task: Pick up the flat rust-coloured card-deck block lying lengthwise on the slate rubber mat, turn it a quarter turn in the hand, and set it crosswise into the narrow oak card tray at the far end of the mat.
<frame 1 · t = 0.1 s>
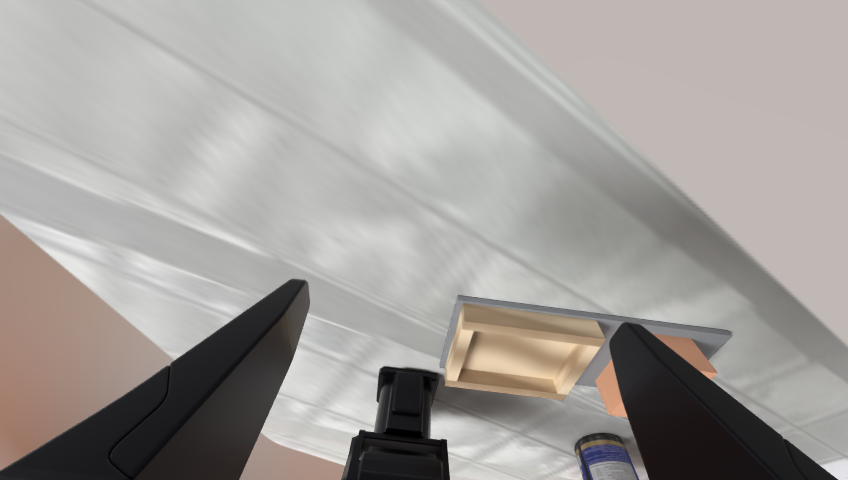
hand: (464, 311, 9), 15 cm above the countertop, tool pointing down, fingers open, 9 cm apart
card deck block: (639, 361, 32), point 1 cm above the countertop, touching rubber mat
pill bottle: (596, 441, 43), on the countertop
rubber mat: (573, 347, 32), on the countertop
card tray: (514, 345, 32), resting on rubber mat
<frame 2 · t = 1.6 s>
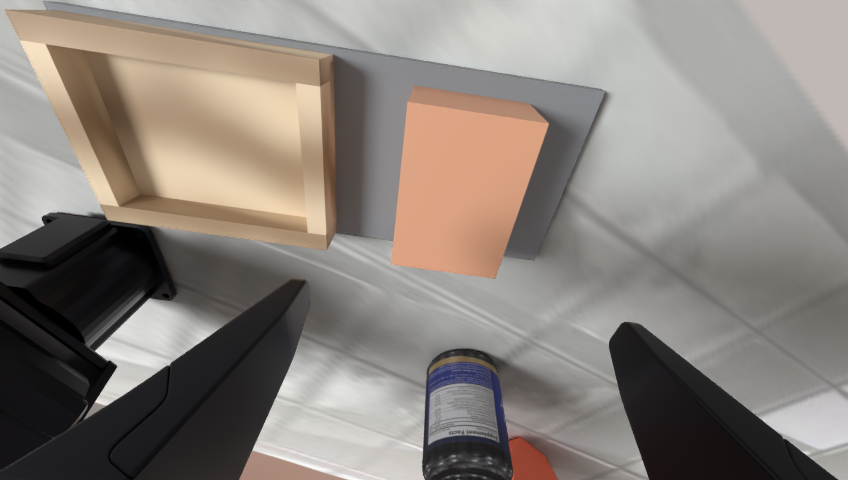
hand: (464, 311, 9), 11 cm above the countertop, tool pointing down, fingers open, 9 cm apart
card deck block: (455, 173, 18), point 1 cm above the countertop, touching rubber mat
pill bottle: (461, 366, 29), on the countertop
french fries container: (515, 449, 37), on the countertop
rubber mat: (338, 151, 18), on the countertop
card tray: (221, 138, 17), resting on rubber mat
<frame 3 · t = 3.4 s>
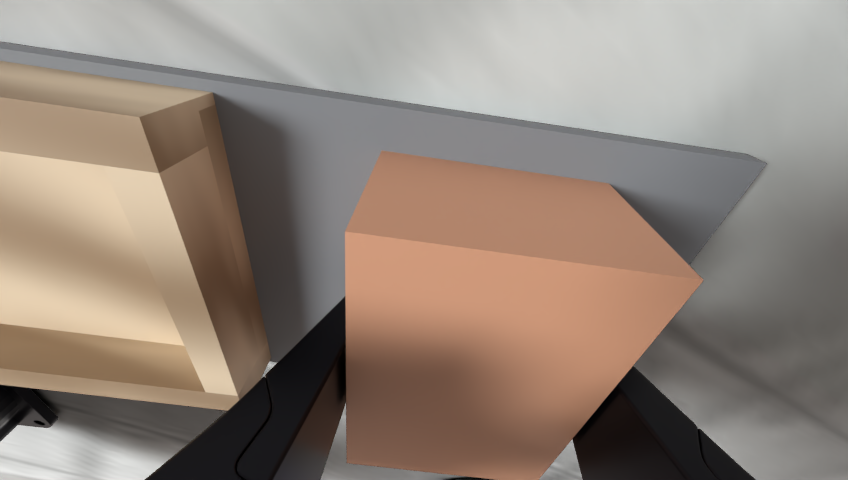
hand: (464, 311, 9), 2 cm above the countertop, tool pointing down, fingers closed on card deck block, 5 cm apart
card deck block: (463, 289, 10), point 1 cm above the countertop, touching gripper, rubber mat
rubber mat: (259, 249, 10), on the countertop
card tray: (43, 234, 10), resting on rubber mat
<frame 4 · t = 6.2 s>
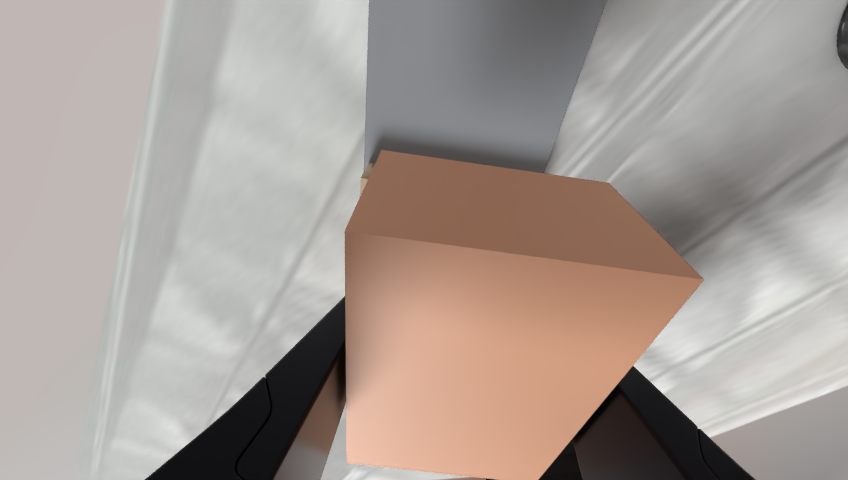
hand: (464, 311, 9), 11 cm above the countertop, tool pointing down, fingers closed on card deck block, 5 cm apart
card deck block: (463, 288, 10), point 11 cm above the countertop, touching gripper
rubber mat: (451, 170, 19), on the countertop
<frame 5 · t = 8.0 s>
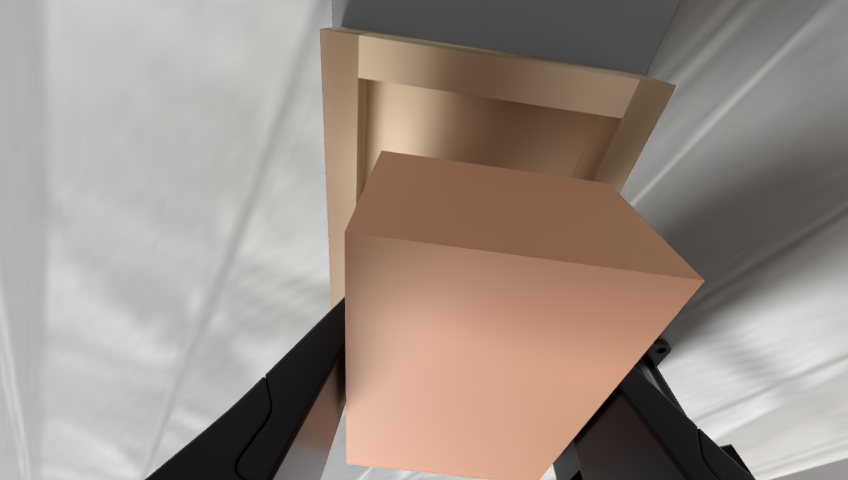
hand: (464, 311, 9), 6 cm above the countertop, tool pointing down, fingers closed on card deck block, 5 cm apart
card deck block: (463, 289, 10), point 5 cm above the countertop, touching gripper
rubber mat: (489, 48, 11), on the countertop
card tray: (456, 214, 14), resting on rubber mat
when the fingers open (4 cm above the countertop, at t = 9.3 s): card deck block drops 1 cm, resting on card tray.
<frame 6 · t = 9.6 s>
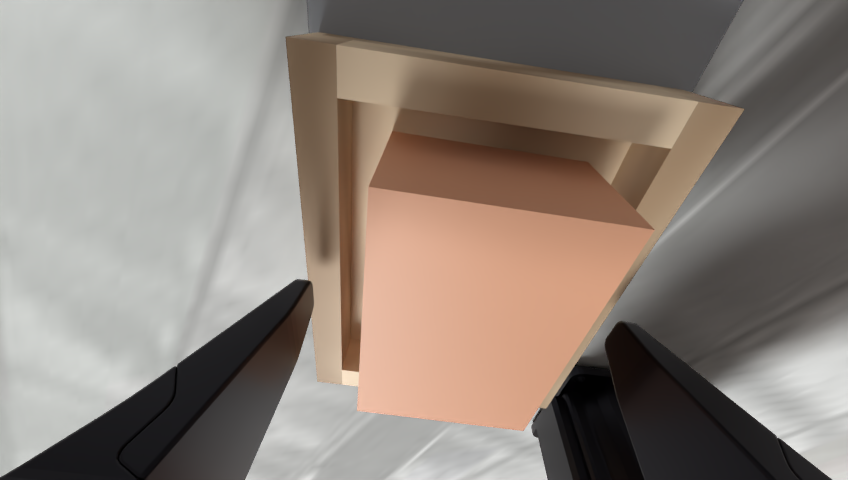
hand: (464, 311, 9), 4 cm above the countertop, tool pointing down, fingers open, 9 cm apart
card deck block: (461, 259, 11), point 1 cm above the countertop, touching card tray
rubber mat: (501, 58, 9), on the countertop
card tray: (459, 248, 12), resting on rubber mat
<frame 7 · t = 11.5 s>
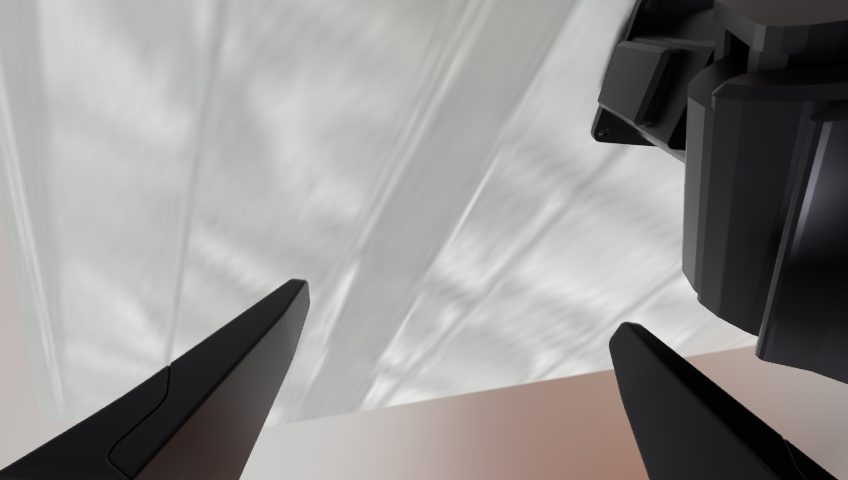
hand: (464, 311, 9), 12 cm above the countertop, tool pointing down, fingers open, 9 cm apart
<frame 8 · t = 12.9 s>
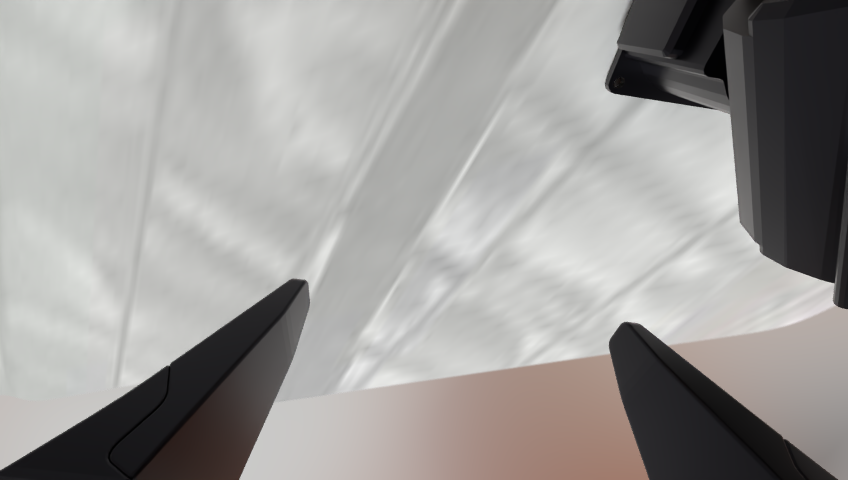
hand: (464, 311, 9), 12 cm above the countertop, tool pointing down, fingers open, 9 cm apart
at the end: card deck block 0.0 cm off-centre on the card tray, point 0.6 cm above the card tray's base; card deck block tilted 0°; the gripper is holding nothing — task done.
